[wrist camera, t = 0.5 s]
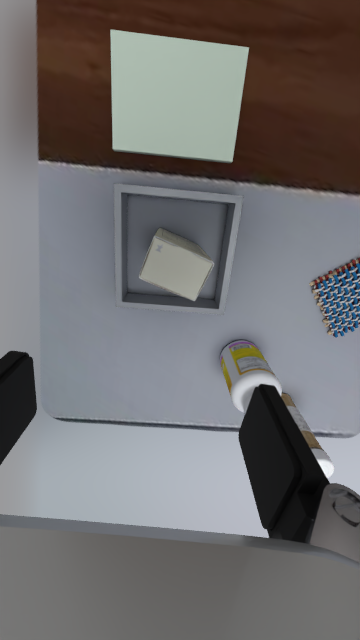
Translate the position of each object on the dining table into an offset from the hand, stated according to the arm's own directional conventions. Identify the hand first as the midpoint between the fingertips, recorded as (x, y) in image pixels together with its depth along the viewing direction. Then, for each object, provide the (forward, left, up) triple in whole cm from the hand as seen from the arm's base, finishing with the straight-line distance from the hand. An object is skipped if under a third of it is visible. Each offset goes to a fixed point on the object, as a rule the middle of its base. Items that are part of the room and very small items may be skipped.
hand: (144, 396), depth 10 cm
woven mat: (-28, +2, -28) cm, 39 cm away
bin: (-1, -2, -27) cm, 27 cm away
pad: (0, -18, -27) cm, 32 cm away
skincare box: (-1, -2, -27) cm, 27 cm away
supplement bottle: (-13, +14, -27) cm, 33 cm away
